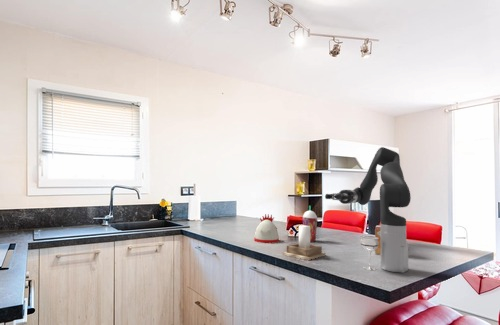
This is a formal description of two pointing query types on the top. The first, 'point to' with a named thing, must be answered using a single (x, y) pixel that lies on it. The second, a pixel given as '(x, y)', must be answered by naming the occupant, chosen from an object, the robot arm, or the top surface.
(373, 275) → the top surface
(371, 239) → the wineglass
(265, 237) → the kitchen timer
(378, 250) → the small box
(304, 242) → the paper roll
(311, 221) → the smoothie
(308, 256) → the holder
